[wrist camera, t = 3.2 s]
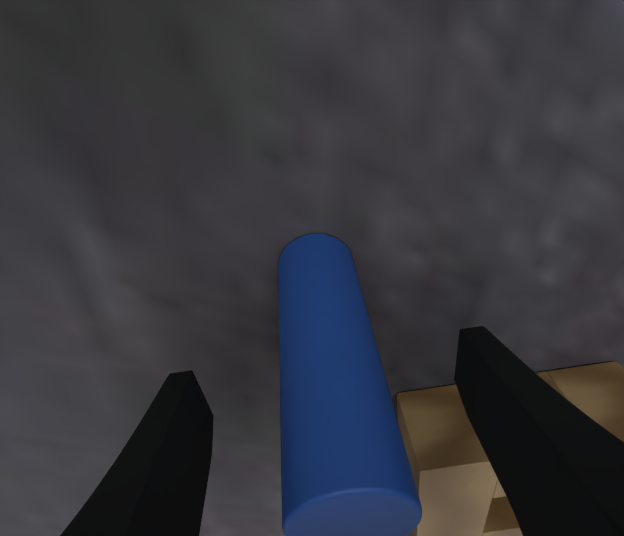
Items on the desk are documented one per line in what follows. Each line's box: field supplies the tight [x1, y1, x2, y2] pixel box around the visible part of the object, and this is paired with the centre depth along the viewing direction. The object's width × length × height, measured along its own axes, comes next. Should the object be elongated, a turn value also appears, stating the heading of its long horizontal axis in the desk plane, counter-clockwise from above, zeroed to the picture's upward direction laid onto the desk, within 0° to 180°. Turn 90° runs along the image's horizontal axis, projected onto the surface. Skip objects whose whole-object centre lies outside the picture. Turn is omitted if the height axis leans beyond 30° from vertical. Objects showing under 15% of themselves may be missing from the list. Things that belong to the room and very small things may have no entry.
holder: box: [397, 361, 624, 536], centre depth 22 cm, size 11×11×4 cm
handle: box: [278, 234, 422, 536], centre depth 12 cm, size 3×3×9 cm
